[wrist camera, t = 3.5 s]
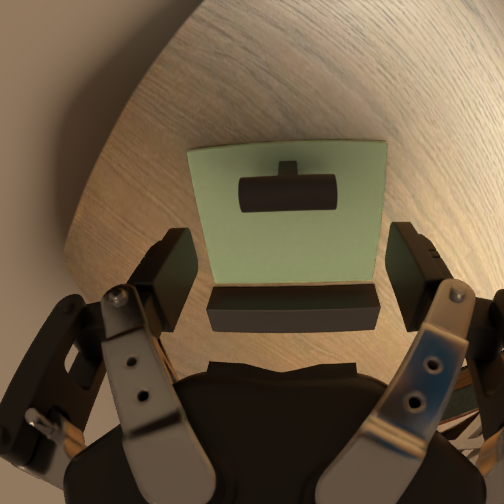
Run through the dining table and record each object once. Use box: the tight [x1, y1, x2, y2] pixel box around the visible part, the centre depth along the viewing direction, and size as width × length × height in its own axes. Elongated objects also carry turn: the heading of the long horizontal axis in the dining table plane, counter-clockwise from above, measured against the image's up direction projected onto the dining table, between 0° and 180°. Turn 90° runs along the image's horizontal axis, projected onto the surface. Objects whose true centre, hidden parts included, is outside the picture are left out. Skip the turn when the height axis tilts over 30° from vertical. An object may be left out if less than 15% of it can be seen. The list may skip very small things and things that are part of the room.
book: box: [438, 351, 504, 426], centre depth 33 cm, size 17×4×25 cm
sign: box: [186, 140, 387, 283], centre depth 19 cm, size 14×12×6 cm
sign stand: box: [206, 284, 381, 333], centre depth 25 cm, size 15×3×3 cm, turn 96°
